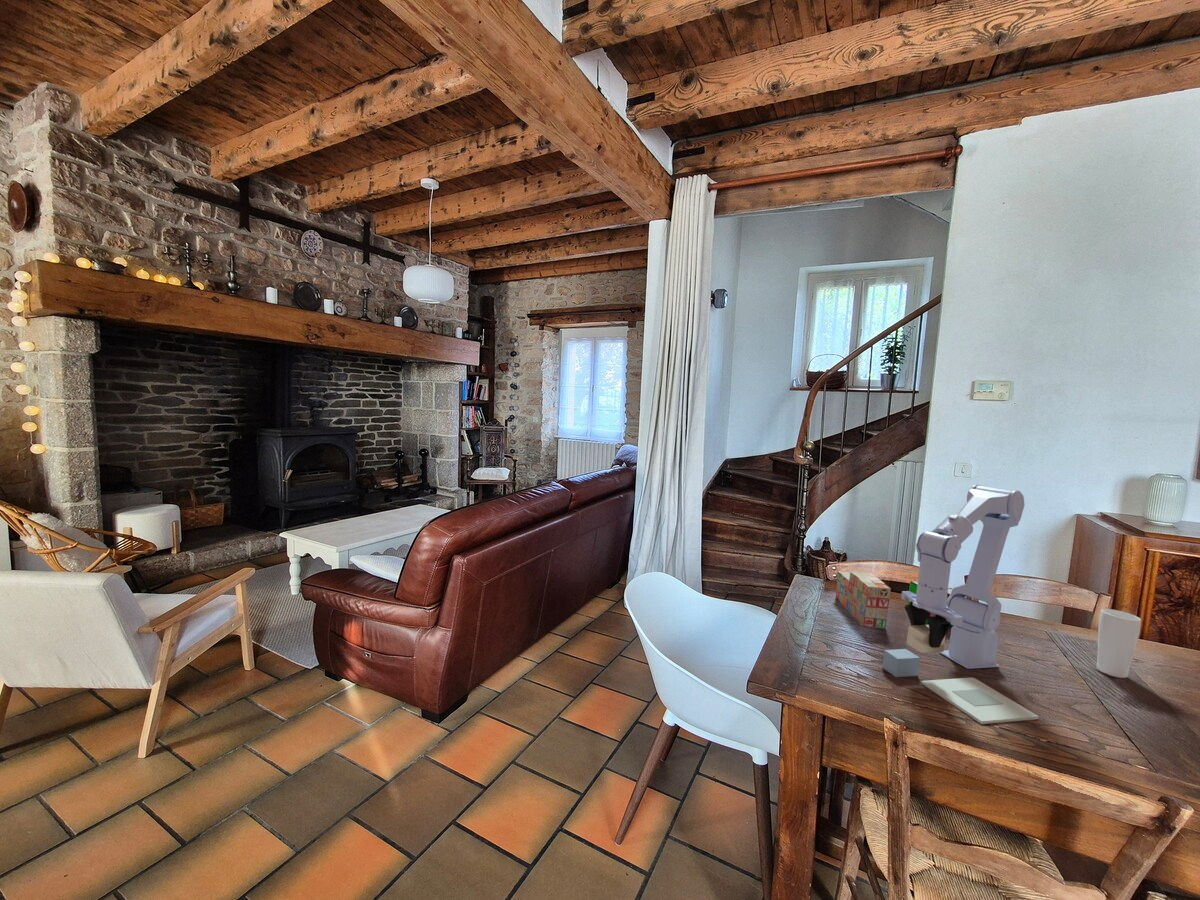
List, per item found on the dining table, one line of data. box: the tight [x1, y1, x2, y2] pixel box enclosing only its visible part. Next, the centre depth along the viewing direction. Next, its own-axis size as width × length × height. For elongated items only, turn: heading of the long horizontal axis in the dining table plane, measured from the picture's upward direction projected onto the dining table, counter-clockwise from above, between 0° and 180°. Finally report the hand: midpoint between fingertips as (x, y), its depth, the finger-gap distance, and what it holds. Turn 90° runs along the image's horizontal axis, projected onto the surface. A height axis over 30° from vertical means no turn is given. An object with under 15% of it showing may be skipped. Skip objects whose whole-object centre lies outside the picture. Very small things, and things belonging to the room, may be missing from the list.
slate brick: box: [882, 648, 921, 678], centre depth 112 cm, size 6×4×4 cm, turn 101°
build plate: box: [921, 676, 1039, 725], centre depth 102 cm, size 14×14×1 cm
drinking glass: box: [1096, 608, 1142, 679], centre depth 117 cm, size 7×7×15 cm
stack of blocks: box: [835, 571, 892, 630], centre depth 146 cm, size 21×6×12 cm, turn 174°
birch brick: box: [906, 624, 947, 654], centre depth 110 cm, size 6×4×4 cm, turn 100°
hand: (925, 641), depth 110 cm, fingers closed on birch brick, 4 cm apart
